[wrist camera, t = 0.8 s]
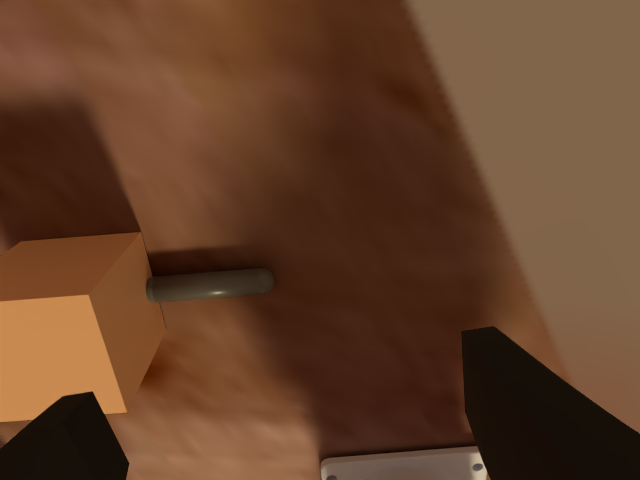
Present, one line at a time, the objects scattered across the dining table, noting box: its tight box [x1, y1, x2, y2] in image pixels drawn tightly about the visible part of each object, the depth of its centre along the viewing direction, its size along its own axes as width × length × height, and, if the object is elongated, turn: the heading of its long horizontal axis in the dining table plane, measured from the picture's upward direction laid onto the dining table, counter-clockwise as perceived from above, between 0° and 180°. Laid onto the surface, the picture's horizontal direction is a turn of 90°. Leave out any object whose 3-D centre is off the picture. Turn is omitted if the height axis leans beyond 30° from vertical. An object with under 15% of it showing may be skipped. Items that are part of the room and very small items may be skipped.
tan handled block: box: [0, 232, 274, 422], centre depth 16 cm, size 4×9×4 cm, turn 94°
